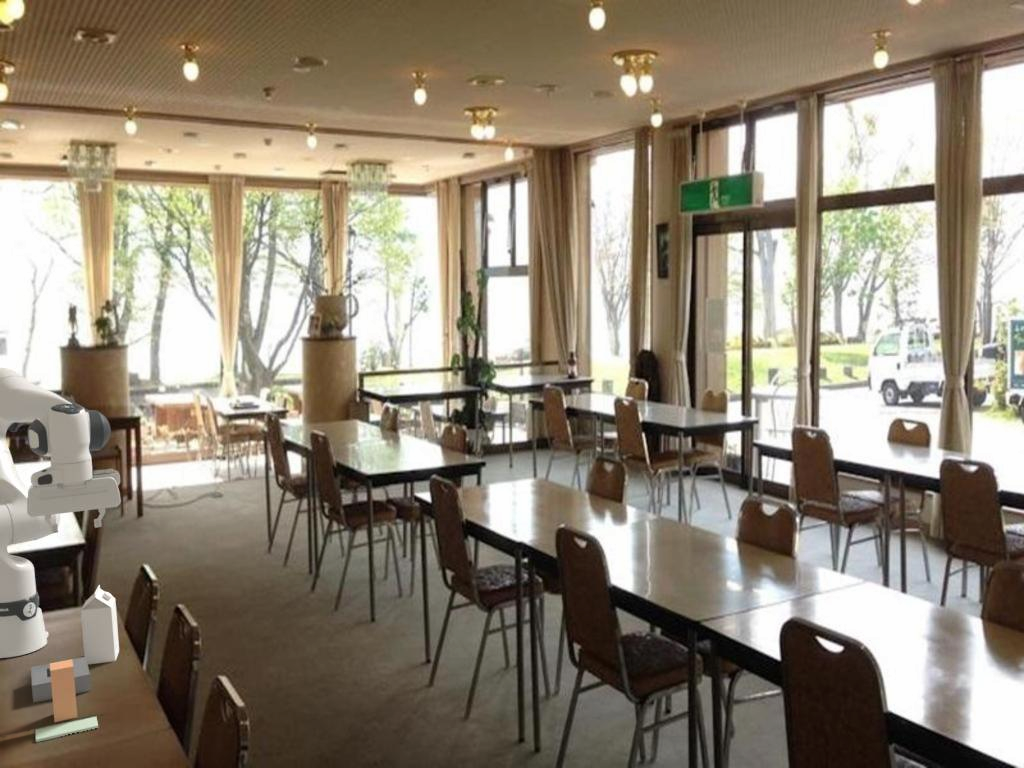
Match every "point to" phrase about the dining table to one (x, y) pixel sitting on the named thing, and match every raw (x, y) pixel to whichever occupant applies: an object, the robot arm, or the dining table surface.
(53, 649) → the dining table surface
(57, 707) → the block
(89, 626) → the milk carton
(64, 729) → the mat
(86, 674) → the holder
